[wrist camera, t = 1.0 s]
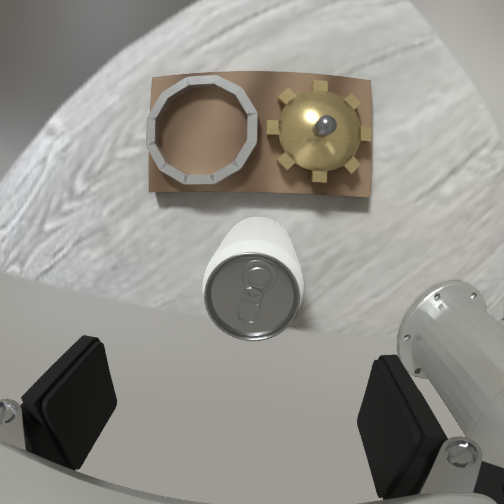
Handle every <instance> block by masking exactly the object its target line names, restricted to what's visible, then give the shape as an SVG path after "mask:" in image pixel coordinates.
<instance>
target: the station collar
mask: <svg viewBox="0 0 504 504" xmlns="http://www.w3.org/2000/svg"><path fill="white" fill-rule="evenodd" d="M206 87H217V88H219V89H221V90H223V91H225V92H227V93H229V94H231V95H232V96H234V97H236V98H237V99H238V101H239V102H240V104H241V106H242V107H243V109H244V111H245V112H246V114H247V116H248V124H247V141H246V143H245V144H244V146H243V148H242V149H241V151H240V152H239V154H238V156H237V157H236V159H235V161H234V162H233V163H231V164H229V165H227V166H226V167H224V168H222V169H220V170H219V171H217V172H215V173H213V174H212V175H189V174H188V173H186V172H184V171H182V170H181V169H179V168H177V167H175V166H174V165H172V164H170V163H169V161H168V159H167V157H166V155H165V154H164V152H163V150H162V148H161V146H160V144H159V130H160V120H161V118H162V116H163V115H164V113H165V111H166V110H167V108H168V106H169V105H170V103H171V101H172V100H174V99H175V98H177V97H179V96H180V95H182V94H184V93H185V92H187V91H189V90H190V89H192V88H206ZM257 136H258V114H257V111H256V109H255V108H254V106H253V104H252V103H251V101H250V99H249V98H248V96H247V95H246V93H245V91H244V90H243V88H242V87H240V86H238V85H236V84H234V83H232V82H230V81H228V80H226V79H224V78H222V77H220V76H218V75H217V76H216V75H206V76H191V77H186V78H184V79H183V80H181V81H179V82H178V83H176V84H174V85H173V86H171V87H170V88H168V89H166V90H165V91H163V92H162V93H161V95H160V96H159V98H158V100H157V101H156V103H155V105H154V106H153V108H152V110H151V111H150V113H149V115H148V118H147V132H146V145H147V148H148V150H149V152H150V154H151V156H152V157H153V159H154V161H155V163H156V165H157V167H158V168H159V170H160V171H162V172H164V173H165V174H167V175H169V176H171V177H172V178H174V179H176V180H177V181H179V182H181V183H183V184H216V183H218V182H220V181H222V180H223V179H225V178H227V177H229V176H230V175H232V174H234V173H236V172H238V171H239V170H241V169H242V168H243V166H244V165H245V163H246V162H247V160H248V158H249V157H250V155H251V153H252V152H253V150H254V149H255V147H256V145H257Z"/></svg>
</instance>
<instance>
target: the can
mask: <svg viewBox="0 0 504 504" xmlns="http://www.w3.org/2000/svg"><path fill="white" fill-rule="evenodd" d="M203 295H204V301H205V306H206V309H207V312H208V314H209V316H210V318H211V319H212V321H213V322H214V323H215V325H216V326H217V327H218V328H219V329H221V330H222V331H223V332H225V333H226V334H228V335H230V336H232V337H234V338H237V339H241V340H246V341H260V340H265V339H269V338H272V337H274V336H276V335H278V334H279V333H281V332H283V331H284V330H285V329H286V328H287V327H288V326H289V325H290V324H291V323H292V321H293V320H294V318H295V317H296V315H297V312H298V309H299V307H300V305H301V303H302V299H303V295H304V280H303V275H302V271H301V268H300V265H299V262H298V259H297V256H296V253H295V250H294V247H293V244H292V242H291V239H290V237H289V235H288V233H287V232H286V230H285V229H284V228H283V227H282V226H281V225H280V224H279V223H277V222H276V221H274V220H272V219H269V218H264V217H251V218H247V219H244V220H242V221H240V222H239V223H237V224H236V225H235V226H233V227H232V229H231V230H230V231H229V232H228V234H227V235H226V237H225V238H224V240H223V241H222V243H221V244H220V246H219V247H218V249H217V250H216V252H215V254H214V255H213V257H212V259H211V260H210V262H209V264H208V266H207V268H206V271H205V274H204V279H203Z"/></svg>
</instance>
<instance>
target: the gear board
mask: <svg viewBox="0 0 504 504" xmlns="http://www.w3.org/2000/svg"><path fill="white" fill-rule="evenodd" d="M206 75H216V76H217V75H218V76H220V77H222V78H224V79H226V80H228V81H230V82H232V83H234V84H236V85H238V86H240V87H242V88H243V90H244V91H245V93H246V95H247V96H248V98H249V99H250V101H251V103H252V104H253V106H254V108H255V109H256V111H257V114H258V136H257V145H256V147H255V149H254V150H253V152H252V153H251V155H250V157H249V158H248V160H247V162H246V163H245V165H244V166H243V168H242V169H241V170H239V171H238V172H236V173H234V174H232V175H230V176H229V177H227V178H225V179H223V180H222V181H220V182H218V183H216V184H183V183H181V182H179V181H177V180H176V179H174V178H172V177H171V176H169V175H167V174H165V173H164V172H162V171H160V170H159V168H158V167H157V165H156V163H155V161H154V159H153V157H152V156H151V154H150V152H149V192H272V193H300V194H322V195H340V196H355V197H369V198H370V193H371V170H372V96H371V80H364V79H357V78H350V77H341V76H333V75H322V74H311V73H296V72H271V71H231V72H207V73H192V74H180V75H170V76H161V77H153V78H152V87H151V104H150V111H151V110H152V108H153V106H154V105H155V103H156V101H157V100H158V98H159V96H160V95H161V93H162V92H163V91H165V90H166V89H168V88H170V87H171V86H173V85H174V84H176V83H178V82H179V81H181V80H183V79H184V78H186V77H191V76H206ZM313 80H321V81H327V83H328V92H331V93H334V94H336V95H338V96H340V97H341V98H343V99H345V98H346V97H348V96H349V95H350V94H351V93H352V94H353V95H354V96H355V97H356V98H357V99H358V100H359V101H360V102H361V104H360V105H359V106H358V107H357V108H356V109H354V111H355V112H356V114H357V116H358V119H359V122H360V126H361V127H369V128H371V142H367V143H362V142H360V145H359V148H358V150H357V152H356V154H355V155H354V157H355V158H356V159H357V160H358V162H359V163H360V164H361V165H360V166H359V167H358V168H357V169H356V170H355V171H354V172H353V173H352V174H347V173H346V172H345V171H344V170H343V169H342V168H341V167H340V168H337V169H335V170H331V171H327V183H325V182H311V181H310V170H307V169H304V168H302V167H300V166H298V165H296V164H293V165H292V166H291V167H290V168H289V169H288V170H285V169H284V168H283V166H282V165H281V164H280V163H279V162H278V161H277V159H278V158H279V157H280V156H281V155H282V154H284V151H283V150H282V147H281V145H280V143H279V139H278V137H273V136H267V120H279V118H280V115H281V112H282V110H283V108H284V107H283V106H282V105H281V104H280V103H279V102H278V101H277V100H278V96H279V95H280V94H282V93H283V92H284V91H285V90H286V89H287V88H289V89H290V90H291V91H292V92H293V93H294V94H296V95H298V94H300V93H303V92H306V91H311V84H312V82H313ZM247 124H248V116H247V114H246V112H245V111H244V109H243V107H242V106H241V104H240V102H239V101H238V99H237V98H236V97H234V96H232V95H231V94H229V93H227V92H225V91H223V90H221V89H219V88H217V87H206V88H192V89H190V90H189V91H187V92H185V93H184V94H182V95H180V96H179V97H177V98H175V99H174V100H172V101H171V103H170V105H169V106H168V108H167V110H166V111H165V113H164V115H163V116H162V118H161V120H160V130H159V144H160V146H161V148H162V150H163V152H164V154H165V155H166V157H167V159H168V161H169V163H170V164H172V165H174V166H175V167H177V168H179V169H181V170H182V171H184V172H186V173H188V174H189V175H212V174H213V173H215V172H217V171H219V170H220V169H222V168H224V167H226V166H227V165H229V164H231V163H233V162H234V161H235V159H236V157H237V156H238V154H239V152H240V151H241V149H242V148H243V146H244V144H245V143H246V141H247Z"/></svg>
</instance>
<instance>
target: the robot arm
mask: <svg viewBox="0 0 504 504" xmlns="http://www.w3.org/2000/svg"><path fill="white" fill-rule="evenodd" d="M397 351H398V356H399V357H398V356H397V355H381V356H380V357H379V358H378V360H374V363H373V365H372V370H371V373H370V377H369V380H368V384H367V388H366V391H365V395H364V398H363V401H362V405H361V408H360V411H359V414H358V418H357V425H358V429H359V432H360V435H361V439H362V442H363V446H364V449H365V452H366V456H367V459H368V463H369V467H370V470H371V474H372V477H373V481H374V484H375V488H376V492H377V495H378V497H379V498H382V497H383V500H381V501H374V502H367V503H360V504H504V320H501V321H497V320H495V319H494V318H493V317H491V316H490V315H489V314H488V313H486V304H485V301H484V298H483V296H482V295H481V293H480V292H479V290H477V289H476V288H475V287H474V286H472V285H470V284H469V283H467V282H463V281H448V282H444V283H441V284H439V285H437V286H435V287H433V288H432V289H430V290H429V291H427V292H426V293H425V294H424V295H422V296H421V297H420V298H419V299H418V300H417V301H416V302H415V304H414V305H413V306H412V307H411V309H410V310H409V312H408V313H407V315H406V317H405V318H404V321H403V323H402V325H401V327H400V331H399V335H398V341H397ZM407 371H408V372H409V373H410V374H412V375H413V376H415V377H419V378H427V379H429V380H430V382H431V383H432V385H433V386H434V388H435V389H436V391H437V392H438V394H439V395H440V397H441V398H442V400H443V401H444V403H445V404H446V406H447V407H448V409H449V411H450V412H451V414H452V415H453V417H454V418H455V420H456V422H457V423H458V425H459V426H460V428H461V430H462V431H463V433H464V434H465V436H466V437H453V438H450V439H448V438H447V436H446V435H445V433H444V431H443V429H442V428H441V426H440V424H439V422H438V421H437V419H436V417H435V416H434V414H433V412H432V410H431V409H430V407H429V405H428V404H427V402H426V400H425V399H424V397H423V395H422V393H421V392H420V391H419V390H418V388H417V386H416V385H415V383H414V382H413V380H412V378H411V377H410V375H409V373H408V372H407ZM21 399H22V401H23V403H22V404H21V405H19V403H18V402H16V401H14V400H11V399H1V400H0V504H208V503H200V502H193V501H187V500H181V499H176V498H170V497H165V496H160V495H155V494H151V493H147V492H142V491H139V490H134V489H131V488H127V487H123V486H120V485H116V484H113V483H109V482H106V481H103V480H100V479H97V478H94V477H91V476H88V475H85V474H82V473H79V472H77V471H75V470H76V469H80V467H81V466H82V464H83V463H84V461H85V459H86V457H87V456H88V454H89V452H90V451H91V449H92V447H93V445H94V443H95V442H96V440H97V438H98V437H99V435H100V433H101V432H102V430H103V428H104V427H105V425H106V423H107V422H108V420H109V418H110V417H111V415H112V413H113V412H114V410H115V408H116V405H117V398H116V394H115V391H114V387H113V383H112V379H111V375H110V371H109V366H108V362H107V357H106V353H105V348H104V344H103V343H102V342H100V340H99V339H98V338H97V337H90V336H85V335H83V336H82V337H81V338H80V339H79V340H78V341H77V342H76V343H75V344H74V345H72V346H71V347H70V348H69V349H68V350H67V351H66V352H65V353H64V354H63V355H62V356H61V357H60V358H59V359H58V360H57V361H56V362H55V363H54V364H53V365H52V366H51V367H50V368H49V369H48V370H47V371H46V372H45V373H44V374H43V375H42V376H41V377H40V378H39V379H38V380H37V382H36V383H34V385H33V386H32V387H31V388H30V389H29V390H28V391H27V392H26V393H25V394H24V395H23V396H22V397H21Z"/></svg>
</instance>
